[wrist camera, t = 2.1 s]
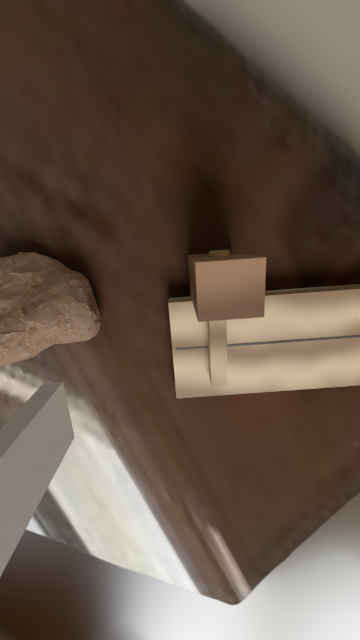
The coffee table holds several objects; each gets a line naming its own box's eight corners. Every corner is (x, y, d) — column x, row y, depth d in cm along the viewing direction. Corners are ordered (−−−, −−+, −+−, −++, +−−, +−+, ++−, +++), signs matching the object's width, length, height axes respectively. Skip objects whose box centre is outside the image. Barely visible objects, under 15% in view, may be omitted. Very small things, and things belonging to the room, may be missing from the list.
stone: (10, 322, 32) (-9, 392, 25) (-48, 262, 25) (-96, 337, 18) (105, 297, 33) (110, 357, 26) (75, 233, 26) (71, 293, 19)
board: (168, 297, 29) (168, 303, 27) (373, 282, 29) (391, 286, 26) (176, 386, 33) (176, 398, 30) (358, 373, 33) (373, 384, 30)
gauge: (187, 250, 27) (194, 255, 17) (232, 247, 27) (266, 250, 17) (194, 369, 32) (203, 428, 22) (233, 366, 32) (260, 424, 22)
